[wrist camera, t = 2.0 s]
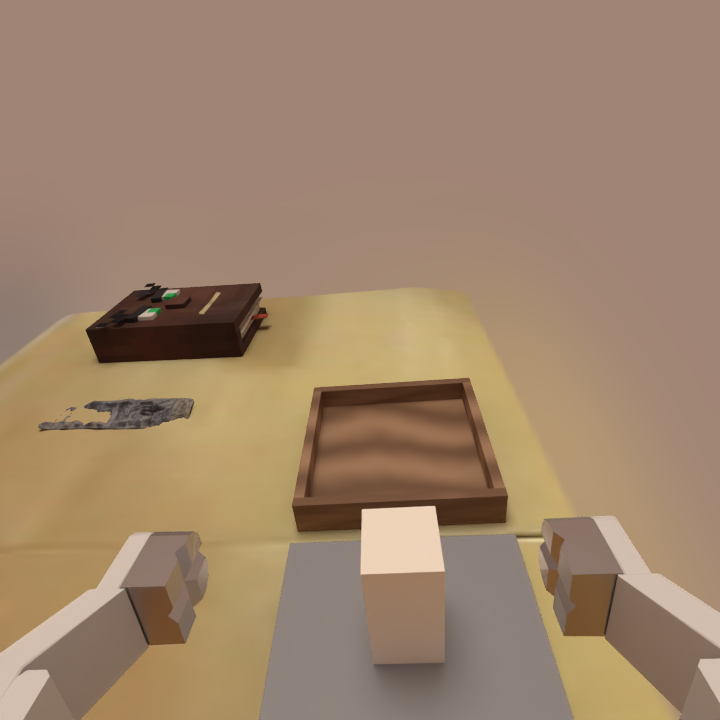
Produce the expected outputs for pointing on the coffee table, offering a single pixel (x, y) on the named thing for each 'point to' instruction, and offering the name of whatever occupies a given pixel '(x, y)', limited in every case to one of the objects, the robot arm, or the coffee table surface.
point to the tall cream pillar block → (403, 585)
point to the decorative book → (179, 324)
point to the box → (397, 455)
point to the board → (417, 680)
